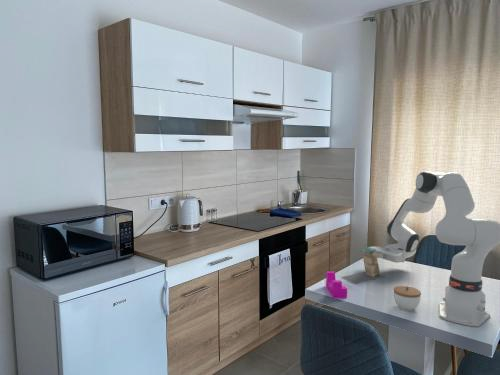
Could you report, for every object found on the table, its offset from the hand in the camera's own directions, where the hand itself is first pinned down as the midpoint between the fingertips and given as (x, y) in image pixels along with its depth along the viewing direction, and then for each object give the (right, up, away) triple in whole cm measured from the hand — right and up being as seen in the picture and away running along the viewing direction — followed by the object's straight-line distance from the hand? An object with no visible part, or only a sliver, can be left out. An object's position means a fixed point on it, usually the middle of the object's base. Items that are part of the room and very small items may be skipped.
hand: (373, 255), depth 201 cm
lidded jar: (+1, -15, -39) cm, 42 cm away
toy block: (-25, -13, -22) cm, 36 cm away
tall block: (0, -10, +1) cm, 10 cm away
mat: (-6, -11, -2) cm, 13 cm away
